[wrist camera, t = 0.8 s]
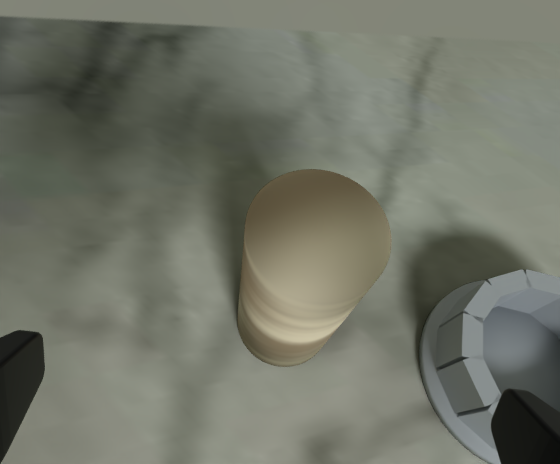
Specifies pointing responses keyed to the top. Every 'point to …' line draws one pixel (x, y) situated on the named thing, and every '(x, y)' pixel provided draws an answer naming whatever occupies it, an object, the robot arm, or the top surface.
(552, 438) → the robot arm
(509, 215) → the top surface
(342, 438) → the top surface
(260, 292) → the birch plug
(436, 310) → the round socket
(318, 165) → the top surface
